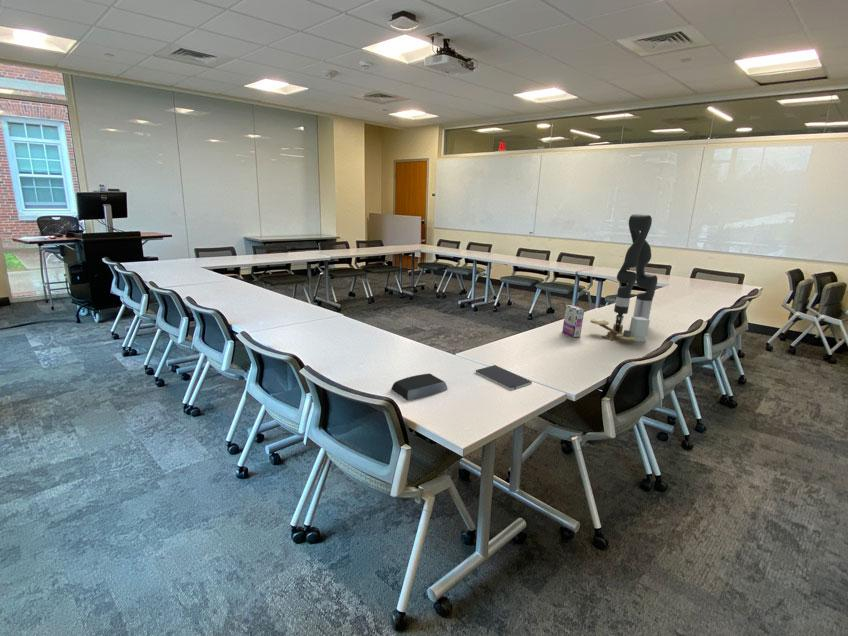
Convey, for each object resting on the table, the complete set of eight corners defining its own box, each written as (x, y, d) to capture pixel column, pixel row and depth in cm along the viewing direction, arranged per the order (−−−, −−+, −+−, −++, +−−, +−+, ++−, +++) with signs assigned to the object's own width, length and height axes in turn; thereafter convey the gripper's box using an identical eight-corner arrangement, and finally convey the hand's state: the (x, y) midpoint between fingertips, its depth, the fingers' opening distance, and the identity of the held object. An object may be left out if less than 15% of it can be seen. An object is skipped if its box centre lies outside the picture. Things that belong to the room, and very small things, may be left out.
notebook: (531, 384, 189) (494, 368, 205) (531, 381, 189) (494, 364, 205) (510, 391, 181) (474, 373, 197) (511, 388, 181) (474, 370, 197)
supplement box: (646, 342, 254) (650, 320, 251) (633, 341, 254) (637, 319, 251) (640, 337, 261) (644, 317, 258) (627, 337, 261) (631, 316, 258)
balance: (585, 332, 266) (587, 320, 264) (595, 330, 272) (597, 318, 270) (628, 346, 245) (631, 333, 243) (638, 343, 250) (641, 330, 248)
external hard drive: (448, 391, 178) (449, 382, 177) (408, 402, 167) (409, 392, 166) (429, 379, 188) (429, 370, 187) (389, 389, 177) (390, 380, 176)
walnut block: (612, 331, 272) (614, 323, 270) (621, 332, 270) (623, 324, 268) (612, 333, 267) (613, 325, 266) (621, 334, 265) (622, 326, 264)
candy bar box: (580, 337, 256) (585, 309, 252) (573, 337, 254) (577, 309, 250) (569, 331, 266) (573, 304, 262) (561, 331, 265) (565, 304, 260)
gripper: (616, 301, 272) (611, 327, 276) (614, 306, 259) (609, 333, 264) (629, 303, 268) (624, 329, 273) (628, 308, 256) (623, 335, 260)
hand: (617, 331), depth 268 cm, fingers open, 7 cm apart
